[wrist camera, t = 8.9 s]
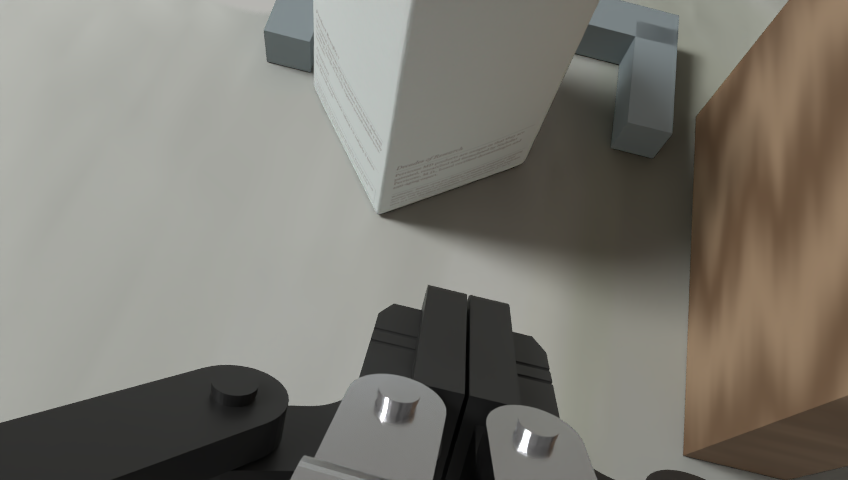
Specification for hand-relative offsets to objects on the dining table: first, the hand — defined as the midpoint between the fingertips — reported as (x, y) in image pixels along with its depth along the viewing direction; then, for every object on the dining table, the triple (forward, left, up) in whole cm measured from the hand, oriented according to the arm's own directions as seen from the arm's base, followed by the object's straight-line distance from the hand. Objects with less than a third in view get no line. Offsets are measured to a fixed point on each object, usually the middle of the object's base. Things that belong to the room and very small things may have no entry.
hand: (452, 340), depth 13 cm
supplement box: (-7, -13, -14) cm, 20 cm away
